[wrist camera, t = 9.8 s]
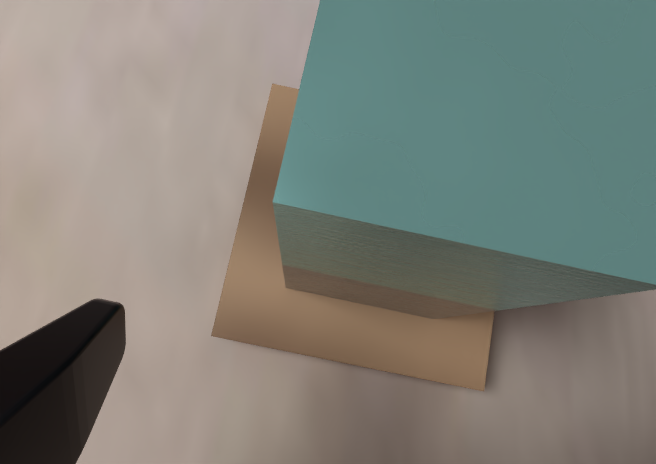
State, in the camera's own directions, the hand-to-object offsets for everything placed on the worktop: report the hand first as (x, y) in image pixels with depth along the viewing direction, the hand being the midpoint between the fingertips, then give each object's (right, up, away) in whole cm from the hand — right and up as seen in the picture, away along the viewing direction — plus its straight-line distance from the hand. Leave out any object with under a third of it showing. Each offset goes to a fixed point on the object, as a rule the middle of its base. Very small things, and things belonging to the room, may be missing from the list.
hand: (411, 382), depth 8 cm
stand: (0, +2, +12) cm, 12 cm away
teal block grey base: (0, +2, +10) cm, 10 cm away
